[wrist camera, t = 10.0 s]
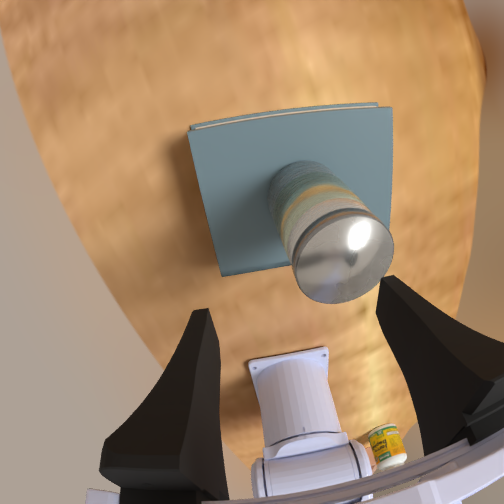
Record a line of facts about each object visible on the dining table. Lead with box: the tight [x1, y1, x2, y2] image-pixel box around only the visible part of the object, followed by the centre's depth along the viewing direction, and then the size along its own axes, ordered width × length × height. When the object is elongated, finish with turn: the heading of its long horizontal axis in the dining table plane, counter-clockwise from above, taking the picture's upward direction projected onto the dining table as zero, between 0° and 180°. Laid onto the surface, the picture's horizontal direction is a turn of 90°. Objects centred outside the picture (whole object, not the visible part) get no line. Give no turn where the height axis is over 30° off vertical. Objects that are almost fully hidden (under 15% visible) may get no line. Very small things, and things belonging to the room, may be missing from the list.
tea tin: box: [267, 161, 394, 304], centre depth 16 cm, size 5×5×7 cm
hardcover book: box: [187, 102, 393, 277], centre depth 20 cm, size 10×12×2 cm
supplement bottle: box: [368, 423, 407, 471], centre depth 42 cm, size 5×5×10 cm
